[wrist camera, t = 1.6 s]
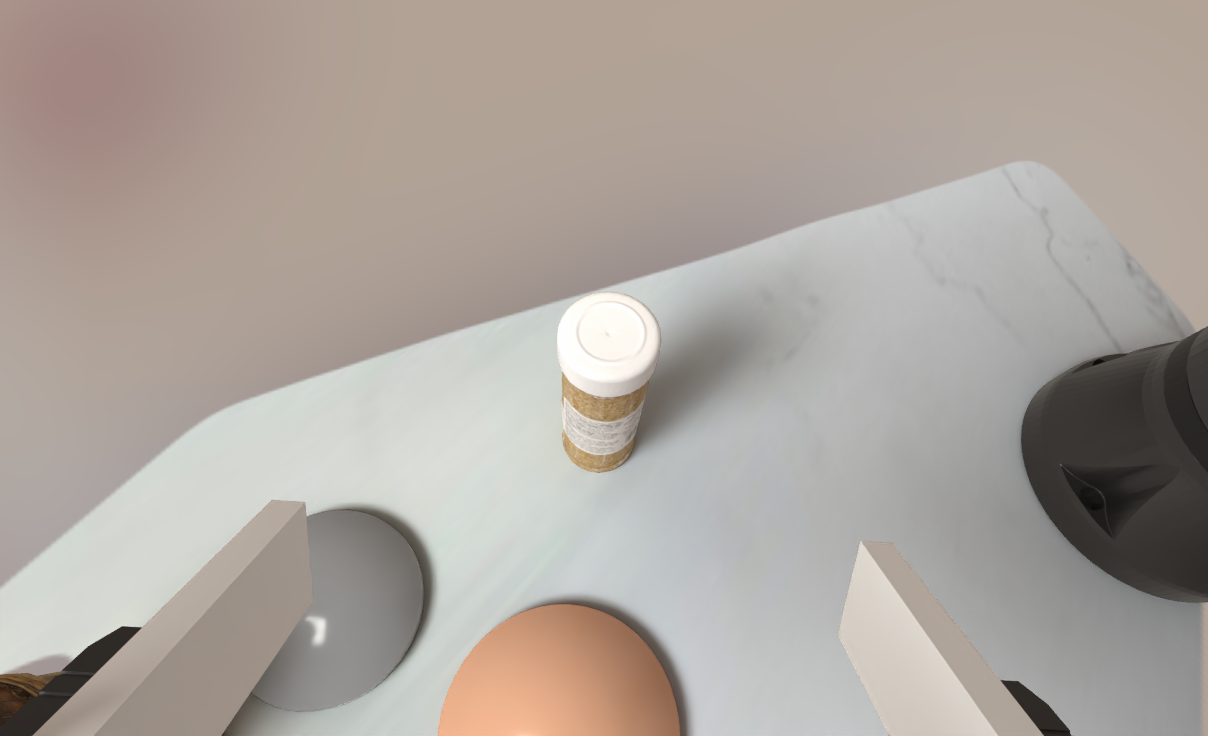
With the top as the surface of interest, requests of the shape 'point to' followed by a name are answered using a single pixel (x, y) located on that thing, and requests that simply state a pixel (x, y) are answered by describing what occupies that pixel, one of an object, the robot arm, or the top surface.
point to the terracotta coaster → (560, 680)
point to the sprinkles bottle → (605, 376)
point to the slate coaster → (348, 615)
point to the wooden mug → (20, 691)
